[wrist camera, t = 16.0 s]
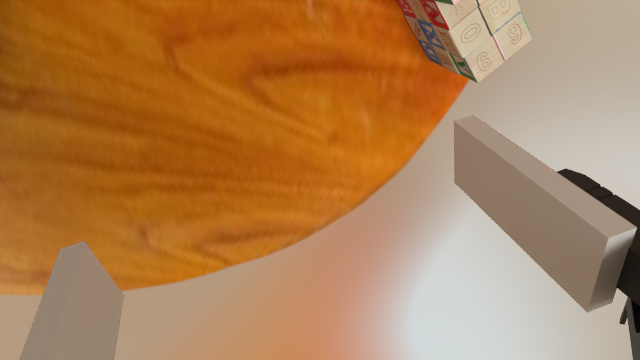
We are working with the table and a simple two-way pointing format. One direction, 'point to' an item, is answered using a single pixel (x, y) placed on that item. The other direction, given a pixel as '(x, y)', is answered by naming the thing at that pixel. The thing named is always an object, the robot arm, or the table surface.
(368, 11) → the table surface
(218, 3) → the table surface
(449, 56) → the stack of blocks
